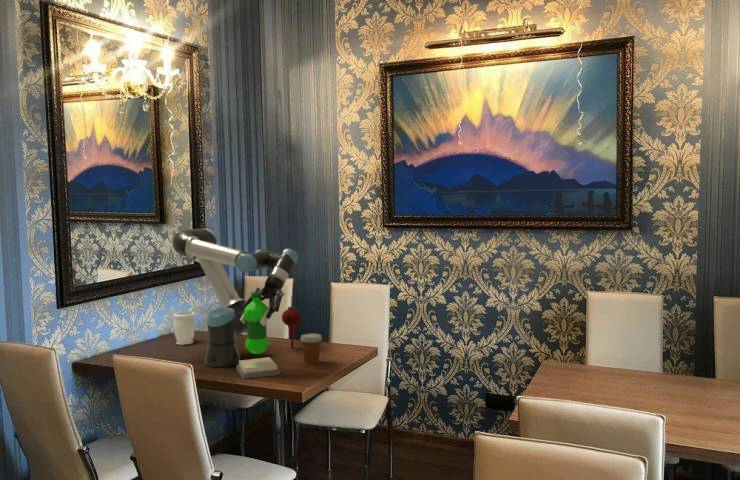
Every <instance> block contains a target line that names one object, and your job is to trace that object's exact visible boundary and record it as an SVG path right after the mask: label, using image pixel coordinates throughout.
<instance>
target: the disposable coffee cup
mask: <svg viewBox="0 0 740 480" xmlns="http://www.w3.org/2000/svg"><path fill="white" fill-rule="evenodd" d="M322 339H323V337H322V335H321V334H319V333H304V334H301V336H300V339H299V340H300V341H301V348H302V354H303V360H304V364H306V365H317V364H319V362H320V355H321V354H320V353H321V345H322Z"/></svg>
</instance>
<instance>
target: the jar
mask: <svg viewBox="0 0 740 480" xmlns="http://www.w3.org/2000/svg"><path fill="white" fill-rule="evenodd" d="M195 315H196V314H195V312H193V311H179V312H175V313H173V315H172V316H173V317H174V318H173V331H174V337H175V339H176V343H175V344H177V345H181V346H186V344H187V345H191V344H193V343H194V340H193V339H194V336H195V330H196V321H195Z"/></svg>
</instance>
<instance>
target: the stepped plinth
mask: <svg viewBox="0 0 740 480" xmlns="http://www.w3.org/2000/svg"><path fill="white" fill-rule="evenodd" d="M235 369H236V372H237V373H238V374H239V376H240V377H241V378H242V379H243V380H246V379H254V378H255V379H256V378H262V377H273V376H279V375H280V374H281V370H280V369H279V367H278V365H277V363H276V362H275V361H274V360H273V359H272V358H271V357H270V356H269V357H260V358H250V359H243V360H241V359H240V361H239V363H238V364H236V365H235Z"/></svg>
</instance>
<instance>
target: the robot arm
mask: <svg viewBox="0 0 740 480" xmlns="http://www.w3.org/2000/svg"><path fill="white" fill-rule="evenodd" d="M172 247H173V250H174V251H175V253H177V254H178V255H181V256H184V257H187V258H193V261H194V262H197V263H199V264H200V265H199V266H200V267H201V268H202V270H203V272H204V274H205V276H206V278H207V280H208V281H209V284H210V286H211V288H212V289H213V291H214V293H215V295H216V297H217V299H218V301H219V303H220V305H221V306H222V307H221V308H216V309H212V310H211V311H210V312H208V315H207V320H206V321H207V342H208V345H207V350H206V354H205V356H204V365H205V366H207V367H210V368H225V367H230V366H236V365H239V361H240V360H241V356H240V353H239V351H238V347H237V345H236V344H237V343H236V336H238V335H241V334H244V333H247V320H246V319H245V318H244V309H245V308H246V307H247V306H248V305H249V304H250V303H251V302H252V298H251V296H249V298H248V299H247V300H245V299H244V298H241V297H240V296H239V294H238V292H237V290H236V288H235V287H234V285H233V283H232V281H231V279H230V277H229V276H228V274H227V272H226V270H225V268H224V266H223V265H226V266H229V267H234V268H236V269H238V270H239V271H240V272H243V273H250V272H253V271H258V270H265V269H270V270H271V271H270V273H269V274H268V276H267V277H266V279H265V282H264V287H263V288H259V287H257V288H256V289H255V291H254V292H261V293H262V297H261V298H260V301H261V302H263V301H264V300H269V301H268V308H269V309H267V310H266V312H265V314H264V316H263V317H262V319H261V321H260V323H261V324H262V325H263V326H265V324H266V325H267V322H268V320H270V319H271V317H272V315H273V314H274V313H275V312H276V313H278V312H279V310H280V306H281V303H282V298H283V297H284V295H285V293H284V291H283V290H282V289H283V287H284V284H285V283H286V282H287V280H288V279H289V277H290V274H291V272H292V271H293V269H294V267H295V266H296V264H297V262H298V260H299V255H298V253H297V252H296V251H295V250H293V249H291V248H284V249H283V251H282V252H276V251H275V252H274V251H270V250H266V249H257V250H255V251H254V252H248V251H243V250H240V249H238V248H237V249H236V248H233V247H229V246H225V245H221V244H218V238H217V236H216V234H215V233H214V232H213V231H212V230H210V229H208V228H201V227H200V228H199V227H198V228H194V229H193V228H192V229H182V230H180V231H178V232H177V233H175V235H174V236H173V238H172Z"/></svg>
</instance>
